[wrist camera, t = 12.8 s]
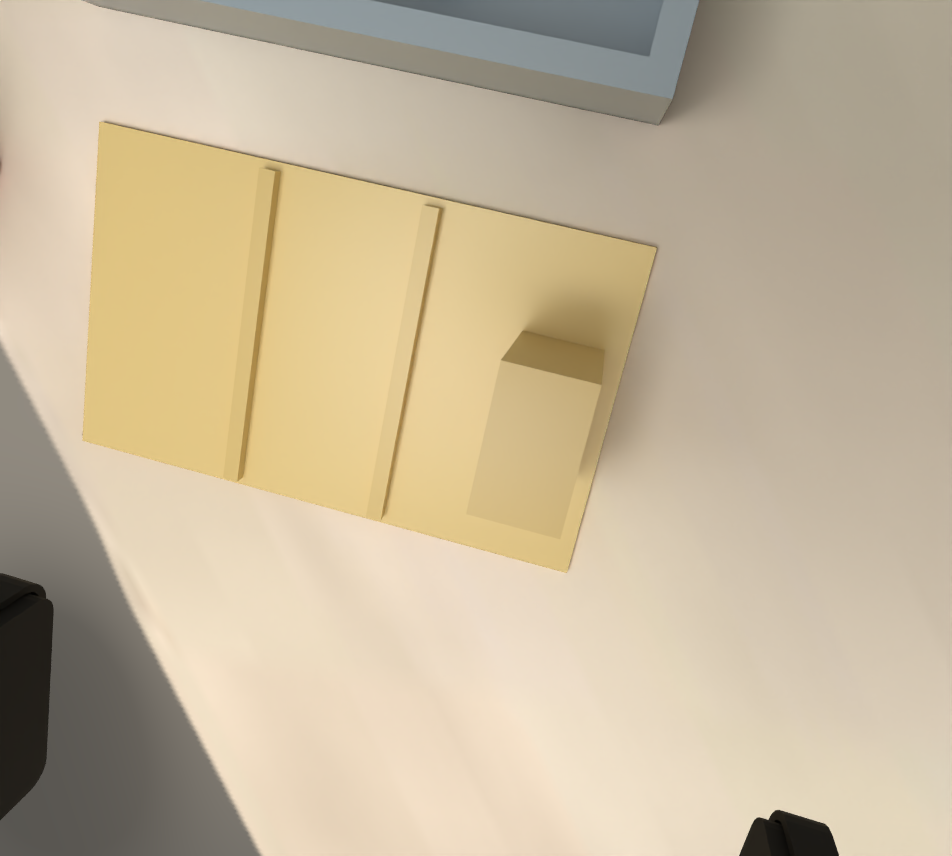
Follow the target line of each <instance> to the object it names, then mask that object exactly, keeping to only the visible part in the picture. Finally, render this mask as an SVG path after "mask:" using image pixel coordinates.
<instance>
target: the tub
mask: <svg viewBox="0 0 952 856" xmlns="http://www.w3.org/2000/svg"><path fill="white" fill-rule="evenodd" d="M83 1H85V2H88V3H91V4H94V5H96V6H99V7H103V8H108V9H113V10H118V11H122V12H127V13H132V14H136V15H141V16H146V17H150V18H155V19H160V20H165V21H169V22H174V23H179V24H183V25H188V26H193V27H198V28H202V29H207V30H212V31H216V32H221V33H226V34H230V35H235V36H240V37H245V38H249V39H254V40H259V41H263V42H268V43H273V44H278V45H282V46H287V47H292V48H296V49H301V50H306V51H311V52H315V53H320V54H325V55H329V56H334V57H339V58H343V59H348V60H353V61H358V62H362V63H367V64H372V65H376V66H381V67H386V68H391V69H395V70H400V71H405V72H409V73H414V74H419V75H424V76H428V77H433V78H438V79H442V80H447V81H452V82H456V83H461V84H466V85H471V86H475V87H480V88H485V89H489V90H494V91H499V92H504V93H508V94H513V95H518V96H522V97H527V98H532V99H537V100H541V101H546V102H551V103H555V104H560V105H565V106H569V107H574V108H579V109H584V110H588V111H593V112H598V113H602V114H607V115H612V116H617V117H621V118H626V119H631V120H635V121H640V122H645V123H650V124H654V125H659V123H660V121H661V119H662V118H663V116H664V114H665V112H666V110H667V108H668V107H669V105H670V103H671V101H672V99H673V96H674V92H675V88H676V85H677V81H678V77H679V73H680V70H681V66H682V62H683V59H684V55H685V51H686V48H687V44H688V40H689V36H690V33H691V29H692V25H693V22H694V18H695V14H696V11H697V7H698V3H699V0H83Z"/></svg>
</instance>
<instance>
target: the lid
mask: <svg viewBox="0 0 952 856" xmlns="http://www.w3.org/2000/svg"><path fill="white" fill-rule="evenodd" d="M656 250H657V247H653V246H648V245H644V244H639V243H635V242H631V241H626V240H622V239H617V238H613V237H609V236H604V235H600V234H595V233H591V232H586V231H582V230H578V229H573V228H569V227H564V226H560V225H556V224H551V223H547V222H542V221H538V220H533V219H529V218H525V217H520V216H516V215H511V214H507V213H503V212H498V211H494V210H489V209H485V208H480V207H476V206H472V205H467V204H463V203H458V202H454V201H450V200H445V199H441V198H436V197H432V196H427V195H423V194H419V193H414V192H410V191H405V190H401V189H397V188H392V187H388V186H383V185H379V184H374V183H370V182H366V181H361V180H357V179H352V178H348V177H344V176H339V175H335V174H330V173H326V172H321V171H317V170H313V169H308V168H304V167H299V166H295V165H291V164H286V163H282V162H277V161H273V160H268V159H264V158H260V157H255V156H251V155H246V154H242V153H238V152H233V151H229V150H224V149H220V148H216V147H211V146H207V145H202V144H198V143H193V142H189V141H185V140H180V139H176V138H171V137H167V136H163V135H158V134H154V133H149V132H145V131H140V130H136V129H132V128H127V127H123V126H118V125H114V124H110V123H105V122H99V139H98V158H97V177H96V195H95V214H94V233H93V252H92V271H91V289H90V308H89V327H88V346H87V364H86V383H85V402H84V421H83V440H82V441H86V442H89V443H93V444H97V445H100V446H104V447H108V448H111V449H115V450H119V451H122V452H126V453H130V454H133V455H137V456H141V457H144V458H148V459H152V460H155V461H159V462H163V463H166V464H170V465H174V466H177V467H181V468H184V469H188V470H192V471H195V472H199V473H203V474H206V475H210V476H214V477H217V478H221V479H225V480H228V481H232V482H236V483H239V484H243V485H247V486H250V487H254V488H258V489H261V490H265V491H269V492H272V493H276V494H280V495H283V496H287V497H290V498H294V499H298V500H301V501H305V502H309V503H312V504H316V505H320V506H323V507H327V508H331V509H334V510H338V511H342V512H345V513H349V514H353V515H356V516H360V517H364V518H367V519H371V520H375V521H378V522H382V523H386V524H389V525H393V526H397V527H400V528H404V529H407V530H411V531H415V532H418V533H422V534H426V535H429V536H433V537H437V538H440V539H444V540H448V541H451V542H455V543H459V544H462V545H466V546H470V547H473V548H477V549H481V550H484V551H488V552H492V553H495V554H499V555H503V556H506V557H510V558H513V559H517V560H521V561H524V562H528V563H532V564H535V565H539V566H543V567H546V568H550V569H554V570H557V571H561V572H565V573H567V571H568V567H569V563H570V560H571V556H572V552H573V549H574V545H575V542H576V538H577V534H578V531H579V527H580V524H581V520H582V516H583V513H584V509H585V506H586V502H587V498H588V495H589V491H590V488H591V484H592V480H593V477H594V473H595V470H596V466H597V462H598V459H599V455H600V452H601V448H602V444H603V441H604V437H605V434H606V430H607V426H608V423H609V419H610V416H611V412H612V408H613V405H614V401H615V397H616V394H617V390H618V387H619V383H620V379H621V376H622V372H623V369H624V365H625V361H626V358H627V354H628V351H629V347H630V343H631V340H632V336H633V333H634V329H635V325H636V322H637V318H638V315H639V311H640V307H641V304H642V300H643V297H644V293H645V289H646V286H647V282H648V279H649V275H650V271H651V268H652V264H653V261H654V257H655V253H656Z"/></svg>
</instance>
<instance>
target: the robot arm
mask: <svg viewBox="0 0 952 856" xmlns="http://www.w3.org/2000/svg"><path fill="white" fill-rule="evenodd" d="M52 630H53V604H52V602H51V601H50V600H48V599H46V593H45V590H44V589H43V587H42V586H40V585H38V584H35V583H32V582H29V581H26V580H22V579H19V578H16V577H13V576H9V575H6V574H1V573H0V820H1V819H2V818H3V817H4V816H5V815H6V814H7V813H8V812H9V811H10V810H11V809H12V808H13V807H14V806H15V805H16V804H17V803H18V802H19V801H20V800H21V799H22V798H23V797H24V796H25V795H26V794H27V793H28V792H29V791H30V790H31V789H32V788H33V787H34V786H35V784H36V783H37V781H38V780H39V778H40V776H41V774H42V772H43V770H44V767H45V764H46V755H47V736H48V714H49V694H50V673H51V653H52ZM739 856H839V854H838V851H837V848H836V845H835V842H834V839H833V836H832V833H831V831H830V829H829V827H828V826H826V825H825V824H824V823H820V822H817V821H814V820H810V819H807V818H804V817H801V816H797V815H794V814H791V813H787V812H784V811H781V810H775V811H774V812H773V813H772V814H771V816H770V818H769V820H767V819H763V818H756V819H755V820H754V822H753V824H752V826H751V828H750V831H749V833H748V835H747V838H746V840H745V843H744V845H743V848H742V850H741V853H740V855H739Z"/></svg>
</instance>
